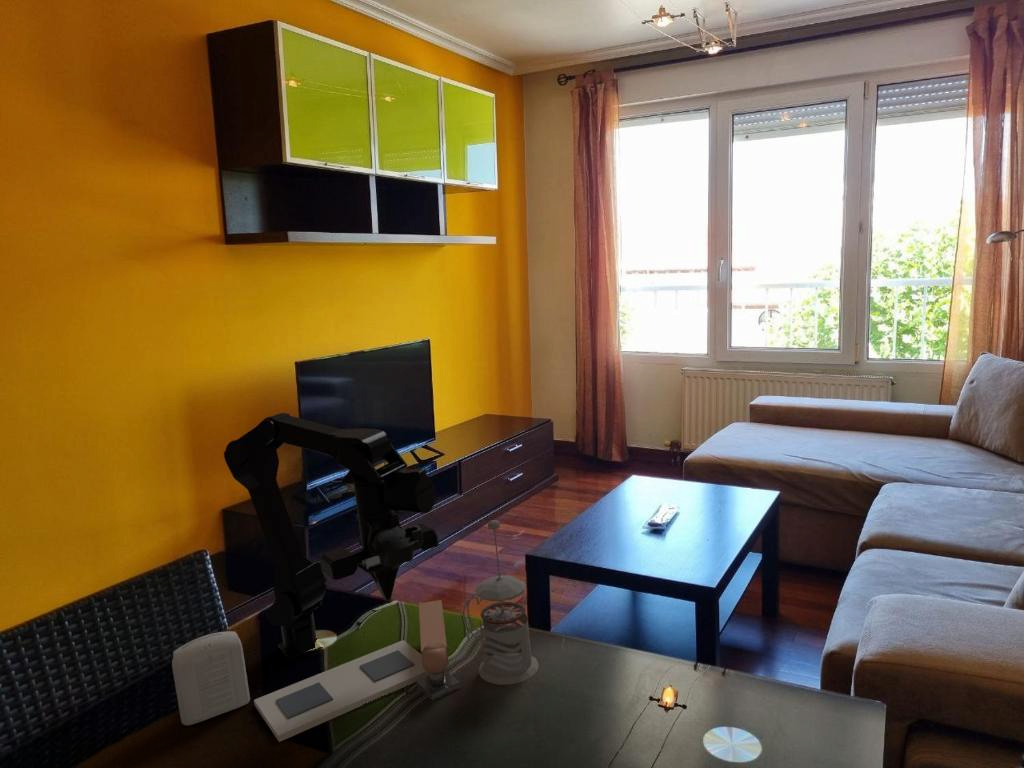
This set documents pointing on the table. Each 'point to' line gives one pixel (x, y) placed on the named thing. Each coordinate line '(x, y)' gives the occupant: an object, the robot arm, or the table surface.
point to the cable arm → (433, 637)
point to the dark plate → (438, 684)
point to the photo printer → (210, 676)
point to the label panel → (340, 689)
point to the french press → (503, 629)
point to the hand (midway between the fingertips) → (387, 599)
